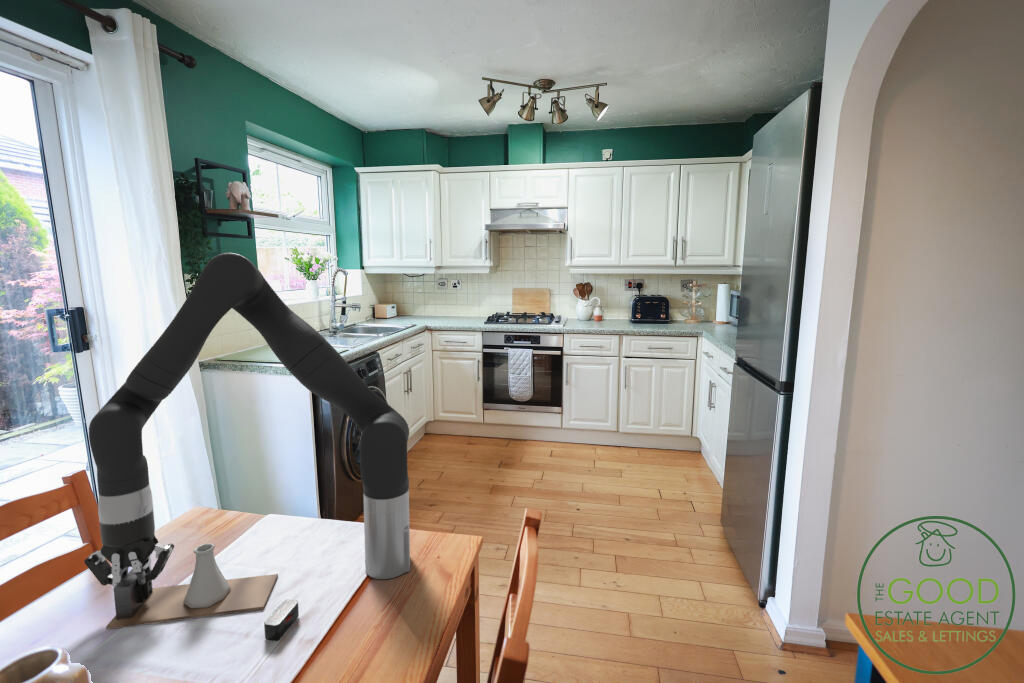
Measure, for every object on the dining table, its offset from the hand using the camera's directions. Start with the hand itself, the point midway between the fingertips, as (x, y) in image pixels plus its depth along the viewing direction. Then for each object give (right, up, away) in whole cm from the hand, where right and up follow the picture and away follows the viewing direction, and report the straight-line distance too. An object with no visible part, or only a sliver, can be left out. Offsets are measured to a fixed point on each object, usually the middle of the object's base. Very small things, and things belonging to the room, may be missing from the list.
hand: (134, 600), depth 86 cm
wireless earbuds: (+29, -3, -3) cm, 29 cm away
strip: (+10, -1, +3) cm, 11 cm away
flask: (+12, -1, +3) cm, 12 cm away
